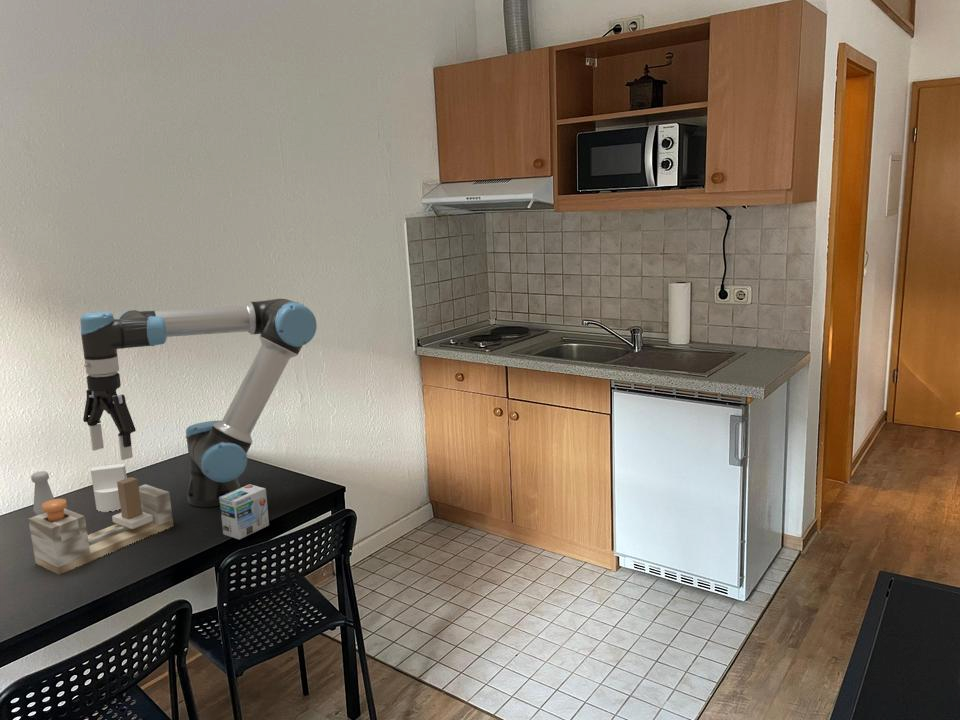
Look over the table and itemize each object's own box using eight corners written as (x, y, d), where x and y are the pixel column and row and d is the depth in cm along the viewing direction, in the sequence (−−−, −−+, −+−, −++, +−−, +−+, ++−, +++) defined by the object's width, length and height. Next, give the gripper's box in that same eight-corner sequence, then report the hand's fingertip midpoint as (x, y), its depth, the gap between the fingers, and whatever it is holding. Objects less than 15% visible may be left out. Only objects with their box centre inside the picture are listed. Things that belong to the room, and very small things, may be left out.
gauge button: (62, 517, 188) (59, 497, 187) (73, 521, 185) (70, 501, 184) (41, 525, 184) (37, 504, 183) (52, 529, 181) (48, 508, 180)
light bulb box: (239, 540, 196) (235, 501, 194) (222, 535, 200) (217, 497, 197) (270, 524, 205) (266, 487, 203) (253, 519, 208) (249, 483, 206)
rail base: (149, 517, 212) (144, 477, 209) (173, 526, 206) (168, 484, 203) (35, 563, 187) (28, 518, 184) (59, 574, 181) (51, 528, 178)
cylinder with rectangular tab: (132, 497, 227) (126, 460, 224) (128, 509, 218) (122, 470, 216) (99, 502, 224) (93, 464, 221) (94, 514, 216) (88, 474, 213)
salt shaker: (47, 520, 212) (40, 477, 209) (29, 519, 213) (22, 476, 210) (62, 511, 218) (55, 469, 215) (45, 510, 219) (38, 468, 216)
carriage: (133, 513, 206) (128, 473, 204) (153, 520, 202) (147, 479, 199) (112, 521, 202) (106, 480, 199) (132, 529, 197) (126, 487, 194)
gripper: (62, 370, 195) (72, 449, 199) (116, 382, 181) (125, 466, 185) (91, 365, 201) (100, 441, 205) (145, 376, 187) (153, 458, 191)
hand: (112, 453), depth 195 cm, fingers open, 13 cm apart
